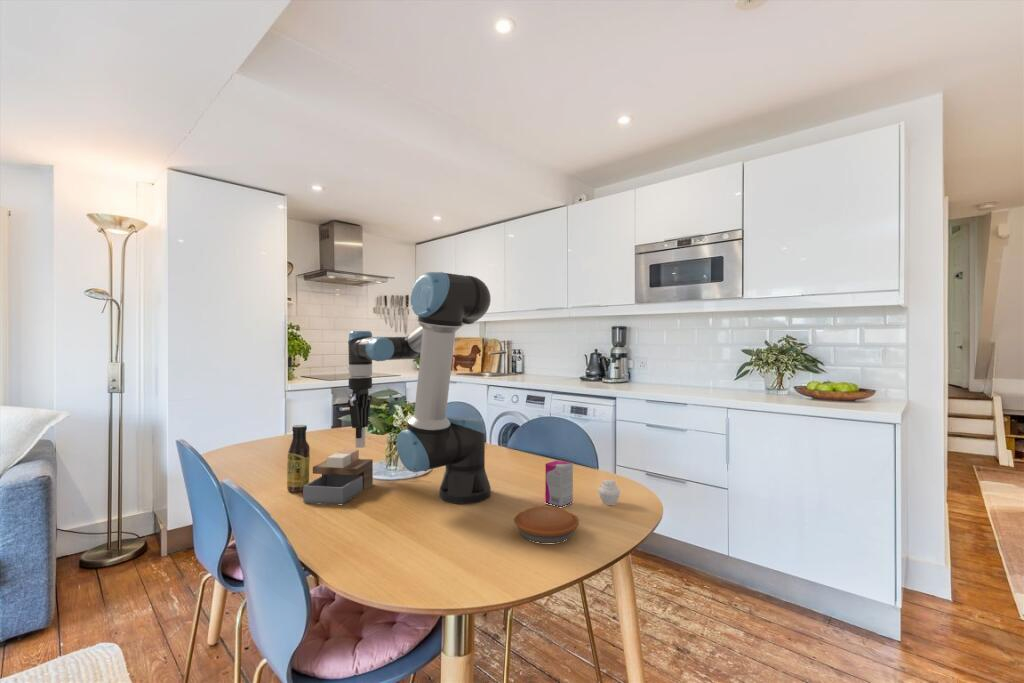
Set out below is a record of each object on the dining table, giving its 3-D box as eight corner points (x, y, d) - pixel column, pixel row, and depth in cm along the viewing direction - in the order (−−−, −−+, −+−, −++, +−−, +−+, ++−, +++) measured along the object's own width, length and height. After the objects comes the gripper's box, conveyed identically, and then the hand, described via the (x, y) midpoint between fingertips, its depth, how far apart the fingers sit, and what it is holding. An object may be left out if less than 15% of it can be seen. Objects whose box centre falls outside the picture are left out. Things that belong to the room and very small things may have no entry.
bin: (362, 491, 144) (362, 475, 144) (342, 505, 132) (342, 488, 132) (326, 489, 146) (326, 473, 146) (303, 502, 134) (303, 486, 134)
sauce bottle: (282, 491, 144) (281, 426, 144) (298, 485, 150) (298, 423, 150) (298, 494, 142) (298, 428, 141) (314, 487, 147) (314, 424, 147)
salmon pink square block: (358, 459, 151) (358, 449, 151) (351, 463, 146) (351, 453, 146) (344, 458, 152) (344, 449, 152) (336, 462, 147) (336, 453, 147)
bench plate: (372, 484, 151) (372, 459, 151) (356, 495, 140) (356, 468, 140) (332, 482, 153) (331, 457, 153) (312, 493, 142) (312, 466, 142)
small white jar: (623, 502, 134) (623, 478, 134) (615, 509, 129) (615, 483, 129) (603, 498, 137) (603, 474, 137) (594, 504, 132) (594, 479, 132)
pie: (514, 521, 120) (514, 502, 120) (575, 522, 120) (575, 502, 120) (512, 548, 105) (512, 526, 105) (582, 549, 105) (582, 527, 105)
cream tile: (350, 463, 146) (350, 453, 146) (342, 467, 141) (342, 457, 141) (335, 462, 147) (335, 453, 147) (327, 467, 142) (327, 457, 142)
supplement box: (573, 503, 133) (573, 463, 133) (560, 509, 129) (560, 467, 129) (557, 498, 137) (557, 459, 137) (544, 503, 133) (544, 463, 133)
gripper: (359, 375, 165) (359, 442, 165) (339, 378, 152) (340, 451, 152) (379, 375, 163) (379, 443, 164) (361, 378, 151) (361, 452, 151)
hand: (360, 447), depth 158 cm, fingers closed
